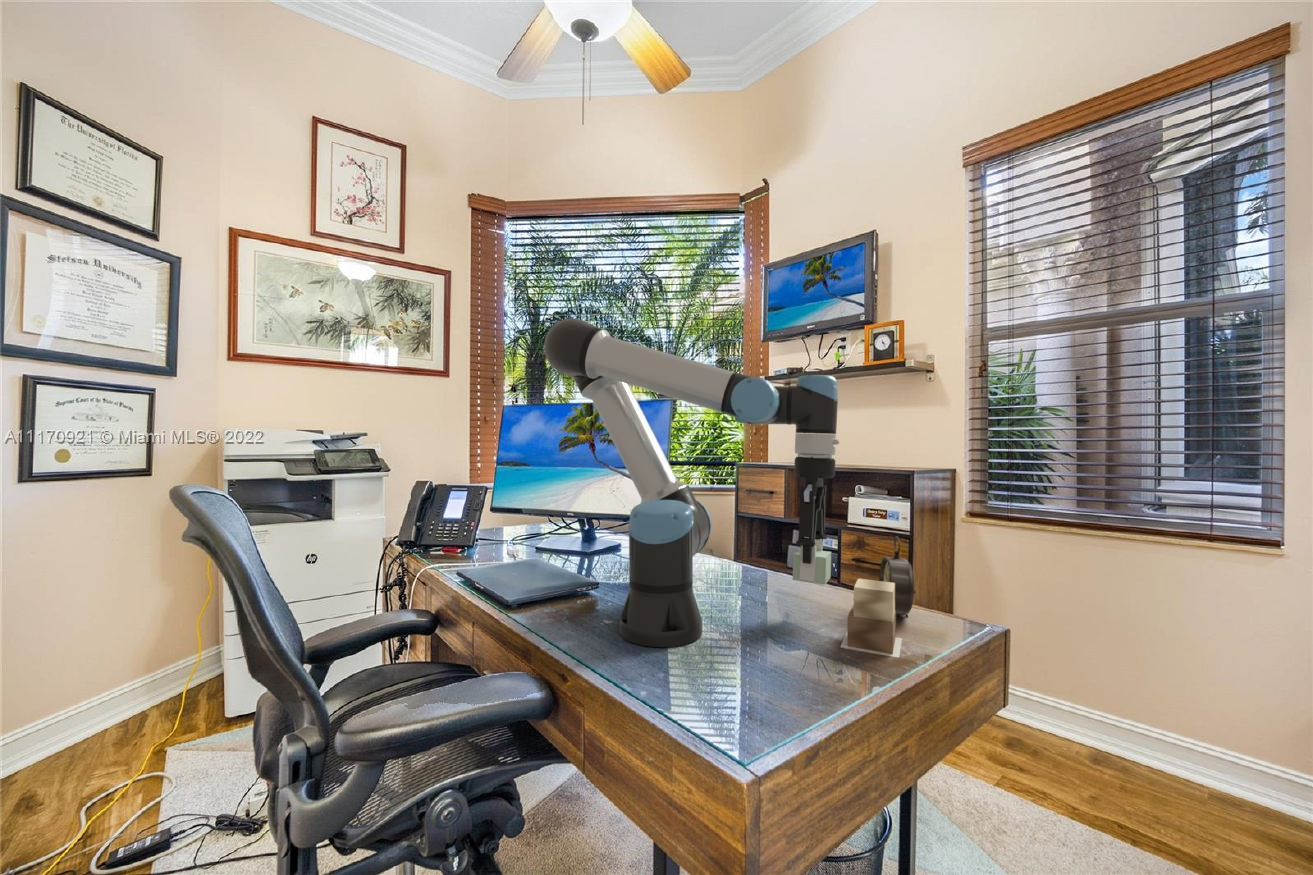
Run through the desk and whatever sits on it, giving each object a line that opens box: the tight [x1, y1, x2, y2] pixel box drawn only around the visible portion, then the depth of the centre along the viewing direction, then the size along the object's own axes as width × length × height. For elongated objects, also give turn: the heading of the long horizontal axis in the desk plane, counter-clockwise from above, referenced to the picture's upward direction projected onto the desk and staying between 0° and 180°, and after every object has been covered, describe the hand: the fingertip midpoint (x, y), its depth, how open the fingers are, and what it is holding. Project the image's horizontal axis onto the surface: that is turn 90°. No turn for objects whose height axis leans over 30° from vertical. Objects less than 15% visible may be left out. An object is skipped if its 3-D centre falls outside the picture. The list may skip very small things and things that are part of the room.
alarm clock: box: [878, 536, 916, 624], centre depth 104 cm, size 11×5×16 cm, turn 167°
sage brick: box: [792, 547, 832, 585], centre depth 102 cm, size 6×6×5 cm
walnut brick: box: [846, 604, 897, 654], centre depth 91 cm, size 7×7×5 cm
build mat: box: [840, 632, 903, 659], centre depth 91 cm, size 9×9×1 cm
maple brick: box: [853, 578, 895, 623], centre depth 90 cm, size 6×6×5 cm
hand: (810, 575), depth 102 cm, fingers closed on sage brick, 6 cm apart
